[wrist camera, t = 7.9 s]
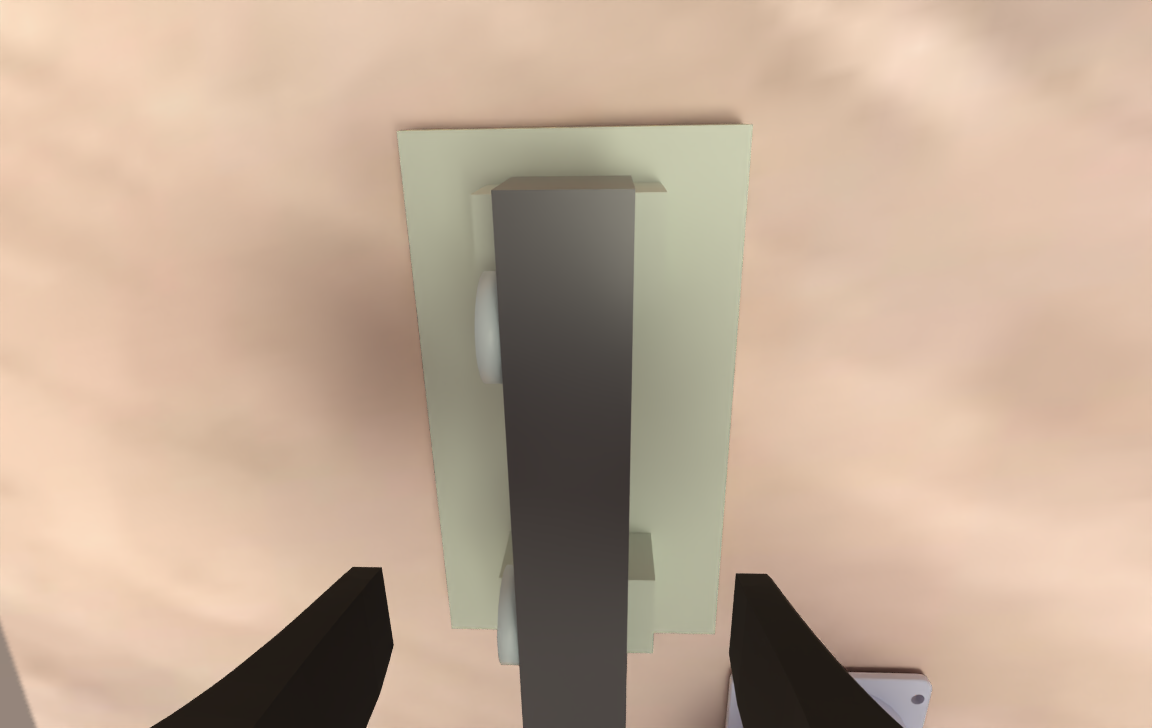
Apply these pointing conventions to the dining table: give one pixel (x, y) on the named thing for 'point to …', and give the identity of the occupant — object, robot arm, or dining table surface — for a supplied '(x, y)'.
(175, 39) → the dining table surface
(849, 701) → the robot arm
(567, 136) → the stand
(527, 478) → the bar
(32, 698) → the dining table surface
